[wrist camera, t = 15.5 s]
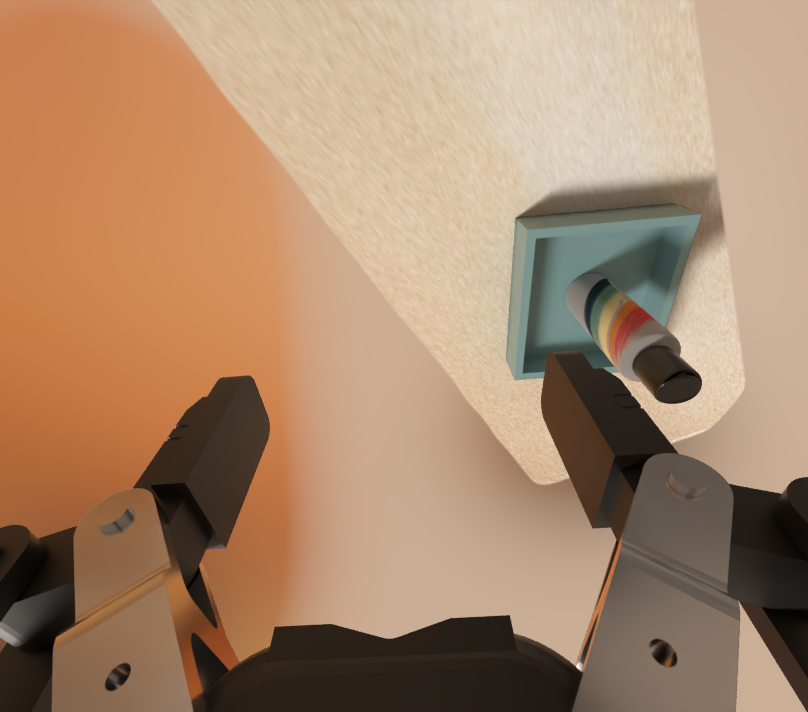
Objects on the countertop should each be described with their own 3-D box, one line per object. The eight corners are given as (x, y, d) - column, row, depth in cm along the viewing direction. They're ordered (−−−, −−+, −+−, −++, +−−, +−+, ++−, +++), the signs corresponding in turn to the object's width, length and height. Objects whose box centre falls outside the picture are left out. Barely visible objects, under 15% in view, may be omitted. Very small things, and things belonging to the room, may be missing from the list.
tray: (515, 218, 45) (527, 230, 41) (673, 203, 44) (701, 214, 40) (505, 359, 56) (514, 380, 52) (632, 349, 55) (651, 369, 51)
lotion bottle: (619, 281, 49) (733, 376, 32) (590, 318, 52) (682, 423, 35) (581, 265, 47) (680, 354, 31) (555, 304, 50) (631, 405, 34)
